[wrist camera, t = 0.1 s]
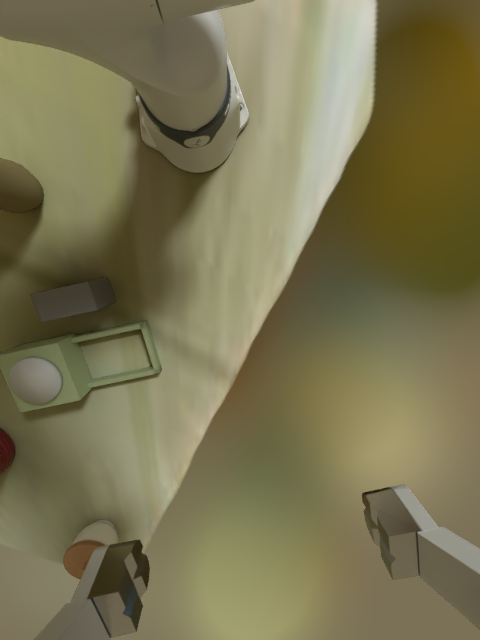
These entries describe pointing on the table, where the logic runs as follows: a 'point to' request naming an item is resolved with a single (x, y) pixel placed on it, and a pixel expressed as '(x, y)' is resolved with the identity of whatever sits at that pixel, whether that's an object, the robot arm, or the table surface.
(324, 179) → the table surface
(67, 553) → the lidded jar
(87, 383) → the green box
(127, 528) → the table surface
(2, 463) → the canister
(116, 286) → the table surface
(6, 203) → the squeeze bottle
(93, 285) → the tall grey box
